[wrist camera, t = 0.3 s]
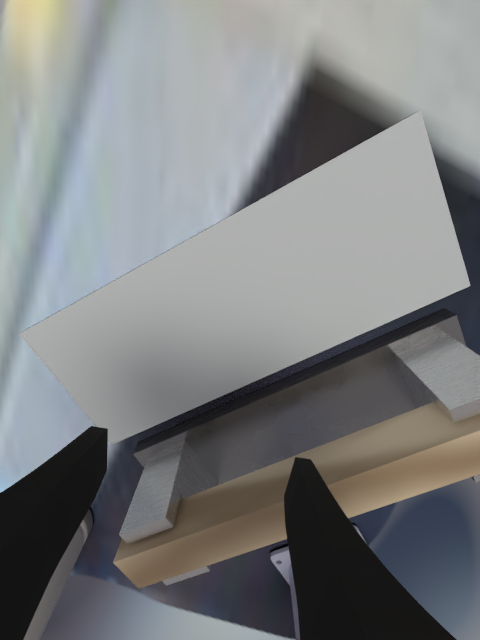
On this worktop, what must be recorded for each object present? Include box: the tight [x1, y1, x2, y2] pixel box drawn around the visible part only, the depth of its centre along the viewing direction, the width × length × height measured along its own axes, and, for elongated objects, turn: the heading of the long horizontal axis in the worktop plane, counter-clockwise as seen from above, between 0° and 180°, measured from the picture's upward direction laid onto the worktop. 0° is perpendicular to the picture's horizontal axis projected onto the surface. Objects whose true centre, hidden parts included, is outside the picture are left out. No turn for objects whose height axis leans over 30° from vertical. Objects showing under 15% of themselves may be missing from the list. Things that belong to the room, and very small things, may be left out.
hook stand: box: [119, 309, 480, 585], centre depth 20 cm, size 6×23×7 cm, turn 118°
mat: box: [20, 110, 470, 445], centre depth 20 cm, size 10×26×1 cm, turn 118°
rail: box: [113, 402, 480, 588], centre depth 17 cm, size 2×23×2 cm, turn 118°
